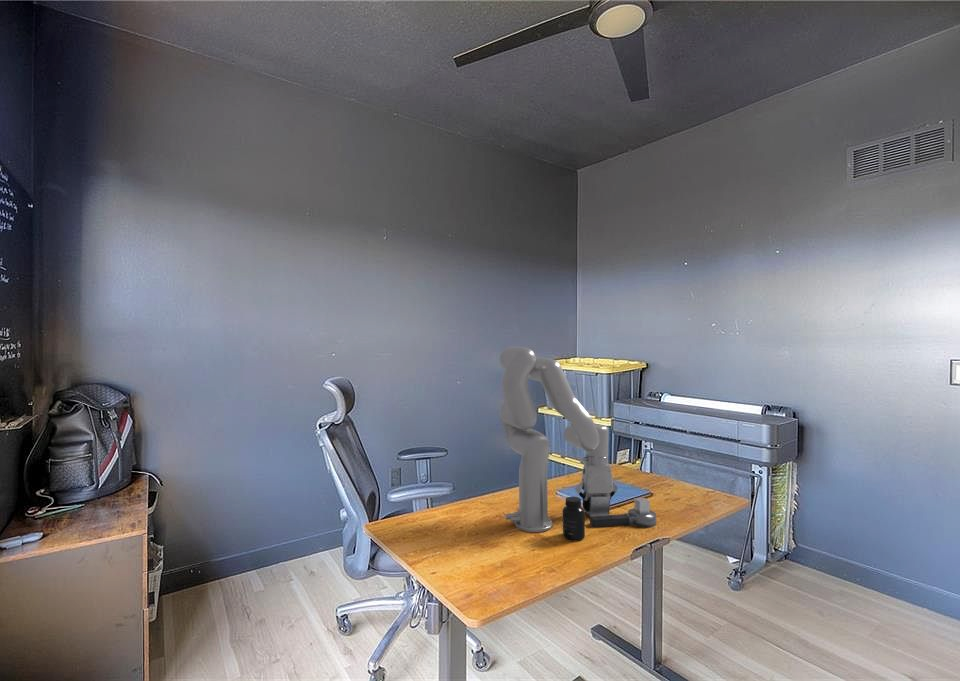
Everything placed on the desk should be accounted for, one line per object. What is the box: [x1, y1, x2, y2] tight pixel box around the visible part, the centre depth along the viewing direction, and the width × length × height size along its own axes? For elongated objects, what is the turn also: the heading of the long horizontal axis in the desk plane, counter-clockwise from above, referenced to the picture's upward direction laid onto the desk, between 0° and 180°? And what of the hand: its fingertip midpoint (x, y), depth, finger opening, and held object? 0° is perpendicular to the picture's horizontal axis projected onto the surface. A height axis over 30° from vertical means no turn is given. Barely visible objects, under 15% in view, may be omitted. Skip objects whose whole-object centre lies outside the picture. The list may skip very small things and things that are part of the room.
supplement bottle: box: [562, 496, 586, 542], centre depth 144 cm, size 7×7×12 cm
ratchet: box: [589, 497, 657, 528], centre depth 154 cm, size 22×9×8 cm, turn 99°
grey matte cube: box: [584, 494, 611, 518], centre depth 162 cm, size 7×7×7 cm
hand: (596, 509), depth 162 cm, fingers closed on grey matte cube, 6 cm apart
